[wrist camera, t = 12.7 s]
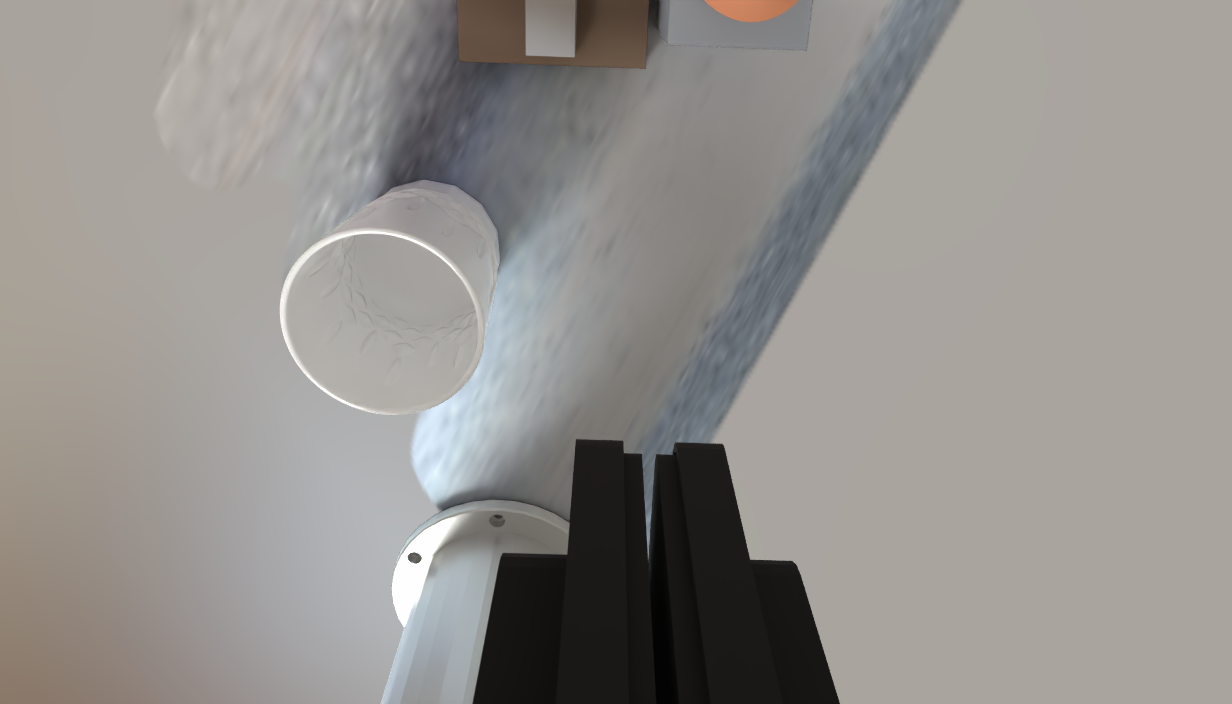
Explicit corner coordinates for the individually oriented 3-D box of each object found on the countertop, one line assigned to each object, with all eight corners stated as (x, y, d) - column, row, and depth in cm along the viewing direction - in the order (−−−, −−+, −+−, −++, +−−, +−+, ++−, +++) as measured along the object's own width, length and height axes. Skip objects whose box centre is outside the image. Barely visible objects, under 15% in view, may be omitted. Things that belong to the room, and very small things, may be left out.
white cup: (483, 148, 40) (445, 204, 31) (532, 299, 43) (510, 390, 34) (327, 190, 41) (244, 257, 31) (386, 335, 44) (327, 433, 35)
